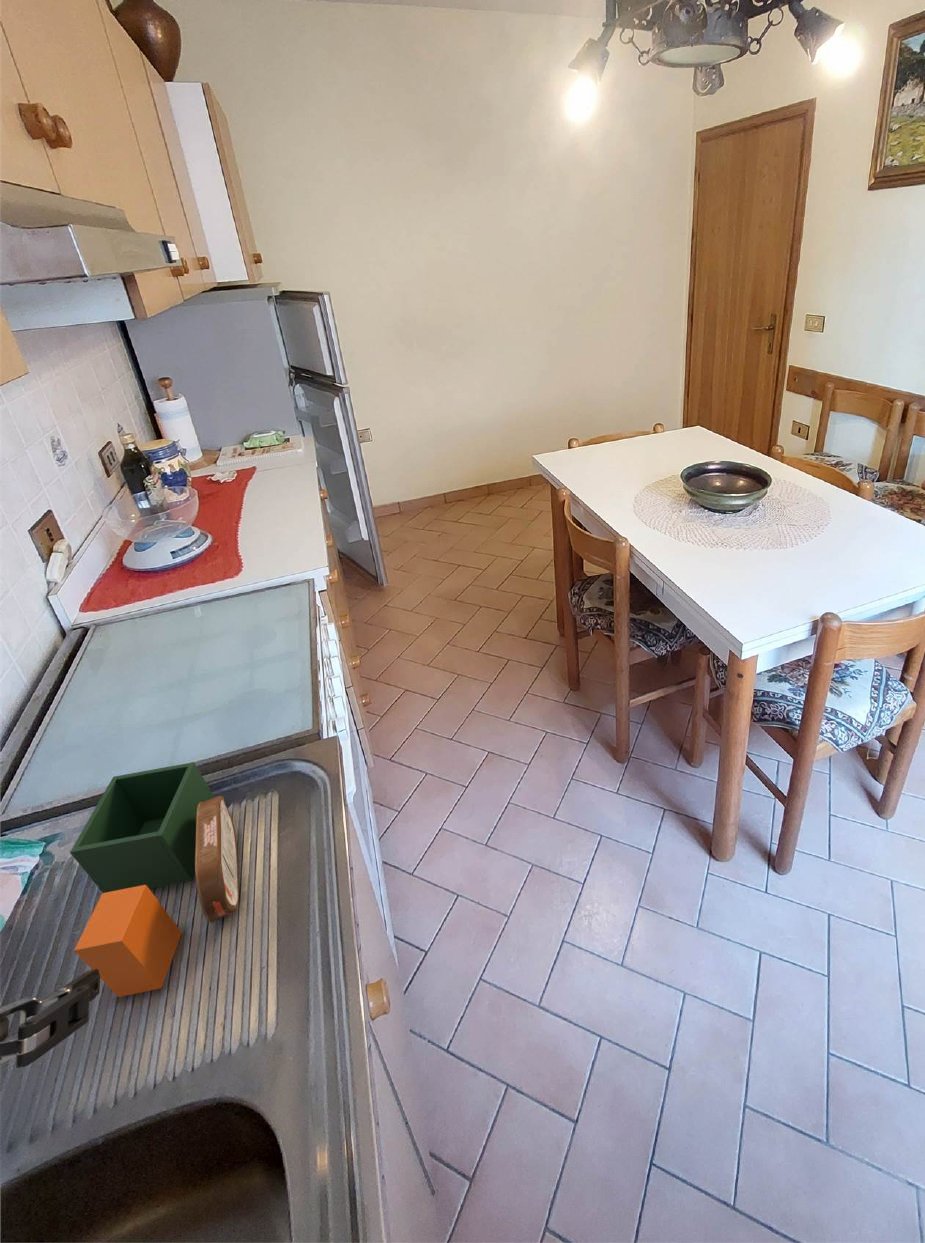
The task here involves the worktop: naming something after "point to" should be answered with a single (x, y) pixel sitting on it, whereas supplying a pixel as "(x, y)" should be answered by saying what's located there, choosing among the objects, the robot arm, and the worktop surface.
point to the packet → (129, 941)
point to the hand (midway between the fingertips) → (43, 992)
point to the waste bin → (144, 829)
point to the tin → (216, 859)
